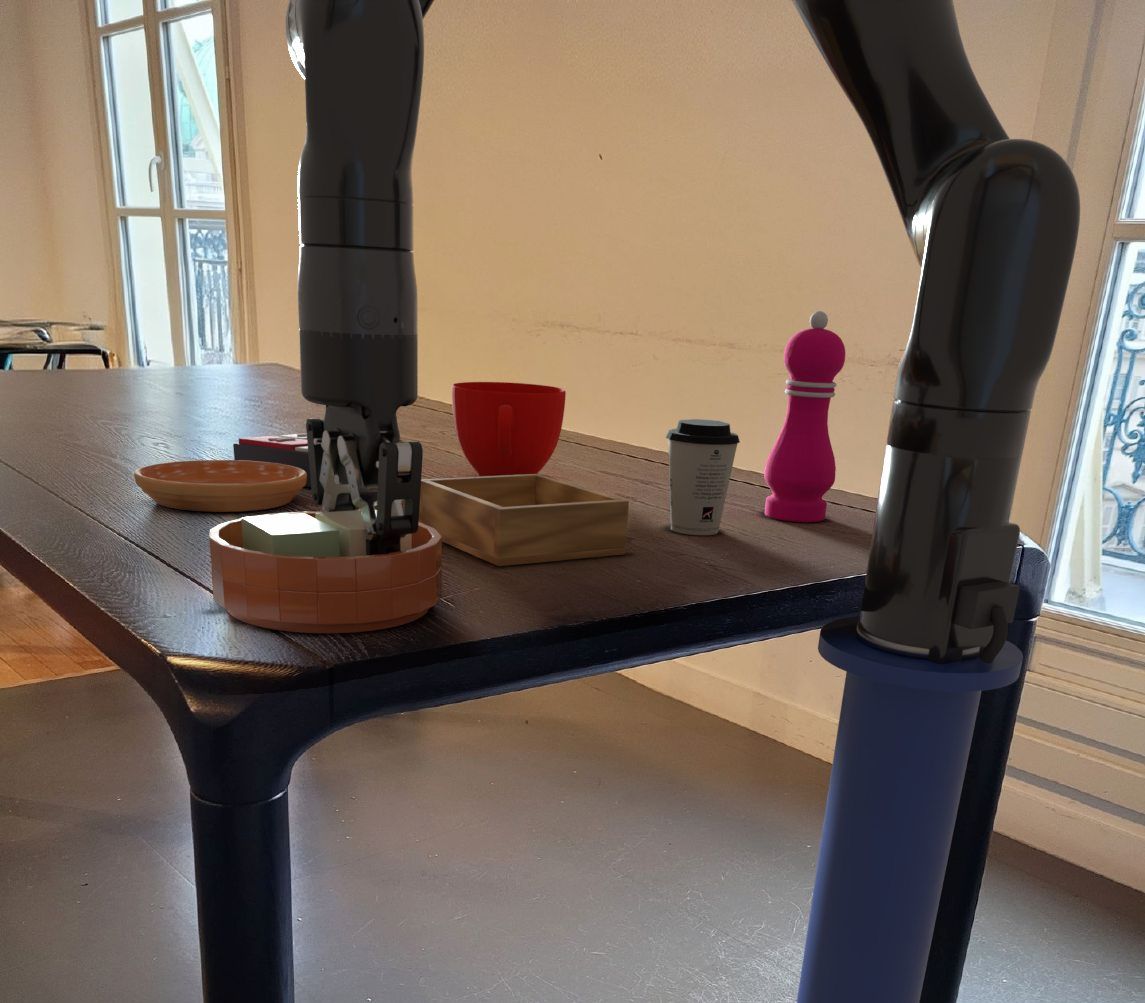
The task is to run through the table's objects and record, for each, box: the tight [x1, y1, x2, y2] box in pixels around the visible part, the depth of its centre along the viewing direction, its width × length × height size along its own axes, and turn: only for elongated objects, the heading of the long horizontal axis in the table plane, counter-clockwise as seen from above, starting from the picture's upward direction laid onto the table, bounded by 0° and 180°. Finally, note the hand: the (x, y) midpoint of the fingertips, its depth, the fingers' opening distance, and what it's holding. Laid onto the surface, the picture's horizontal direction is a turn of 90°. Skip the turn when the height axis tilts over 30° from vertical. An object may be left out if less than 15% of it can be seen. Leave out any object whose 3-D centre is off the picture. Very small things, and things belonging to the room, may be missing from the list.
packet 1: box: [240, 514, 340, 557], centre depth 77 cm, size 6×4×5 cm
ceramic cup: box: [451, 381, 567, 477], centre depth 130 cm, size 13×17×10 cm
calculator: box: [232, 432, 336, 488], centre depth 127 cm, size 11×4×15 cm
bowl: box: [208, 511, 443, 635], centre depth 78 cm, size 15×15×5 cm
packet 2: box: [315, 509, 412, 557], centre depth 79 cm, size 6×4×5 cm
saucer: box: [133, 459, 307, 513], centre depth 111 cm, size 16×16×3 cm
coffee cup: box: [665, 418, 741, 536], centre depth 108 cm, size 7×7×10 cm
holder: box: [419, 473, 629, 567], centre depth 100 cm, size 15×13×5 cm
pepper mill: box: [763, 310, 846, 523], centre depth 116 cm, size 7×7×20 cm
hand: (363, 581), depth 80 cm, fingers closed on packet 2, 6 cm apart
